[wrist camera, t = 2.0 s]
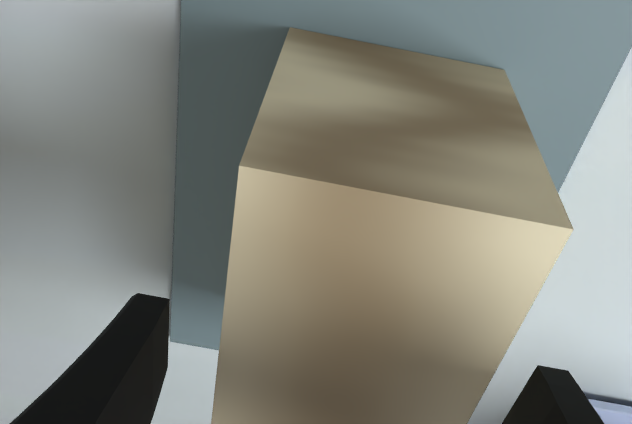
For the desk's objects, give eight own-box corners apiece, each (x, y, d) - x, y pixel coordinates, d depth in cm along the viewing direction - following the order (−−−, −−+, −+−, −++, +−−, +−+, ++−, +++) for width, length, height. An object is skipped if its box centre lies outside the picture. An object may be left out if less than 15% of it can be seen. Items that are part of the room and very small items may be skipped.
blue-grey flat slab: (662, -24, 12) (666, -20, 12) (455, 388, 21) (456, 394, 20) (187, -121, 12) (184, -119, 12) (171, 337, 20) (169, 341, 20)
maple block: (504, 69, 14) (573, 228, 9) (404, 332, 19) (412, 522, 14) (289, 27, 13) (239, 165, 9) (249, 304, 19) (204, 485, 14)
